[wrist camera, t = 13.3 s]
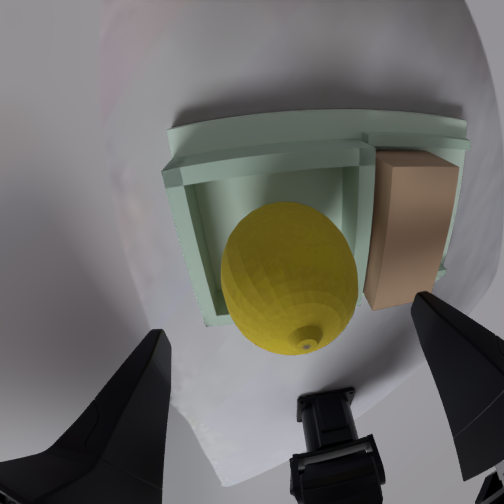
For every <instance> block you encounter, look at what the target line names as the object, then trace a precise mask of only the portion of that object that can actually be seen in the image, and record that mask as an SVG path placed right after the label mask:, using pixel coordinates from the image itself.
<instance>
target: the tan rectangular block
mask: <svg viewBox="0 0 504 504" xmlns="http://www.w3.org/2000/svg"><path fill="white" fill-rule="evenodd" d="M458 175H459V167H458V166H456V165H454V164H452V163H451V162H449V161H447V160H445V159H443V158H441V157H439V156H437V155H434V154H432V153H430V152H428V151H426V150H376V158H375V185H374V202H373V215H372V226H371V236H370V245H369V253H368V261H367V268H366V275H365V282H364V288H363V293H364V295H365V297H366V299H367V301H368V303H369V305H370V307H371V309H372V311H374V310H379V309H384V308H388V307H393V306H397V305H402V304H406V303H410V302H413V301H414V298H415V295H416V293H418V292H421V291H428V292H430V293H431V292H432V289H433V286H434V283H435V279H436V276H437V273H438V270H439V266H440V263H441V259H442V255H443V252H444V248H445V244H446V240H447V236H448V231H449V227H450V222H451V217H452V212H453V207H454V201H455V195H456V189H457V182H458Z"/></svg>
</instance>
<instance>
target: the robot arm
mask: <svg viewBox="0 0 504 504" xmlns="http://www.w3.org/2000/svg"><path fill="white" fill-rule="evenodd" d="M411 315H412V318H413V321H414V325H415V328H416V331H417V334H418V337H419V340H420V344H421V347H422V350H423V352H424V355H425V357H426V360H427V362H428V365H429V367H430V370H431V372H432V375H433V378H434V380H435V383H436V386H437V388H438V391H439V394H440V397H441V400H442V403H443V406H444V409H445V412H446V415H447V419H448V422H449V425H450V429H451V432H452V436H453V438H454V439H453V440H454V444H455V447H456V451H457V455H458V459H459V464H460V468H461V472H462V477H463V481H466V480H469V479H471V478H473V477H475V476H476V475H479V474H481V473H482V472H484V471H486V470H488V469H490V468H492V467H493V466H495V467H496V470H495V471H494V472H492V473H491V474H490V475H488V476H487V477H486V478H485V480H484V483H483V485H482V488H481V490H480V492H479V494H478V497H477V499H476V501H475V504H504V340H502V339H501V338H500V337H498V336H495V334H494V333H492V332H491V331H489V330H488V329H486V328H485V327H483V326H482V325H480V324H478V323H477V322H475V321H474V320H473V319H471V318H469V317H468V316H466V315H465V314H463V313H462V312H460V311H459V310H457V309H455V308H454V307H452V306H451V305H449V304H447V303H446V302H444V301H443V300H441V299H439V298H438V297H436V296H434V295H433V294H431V293H430V292H428V291H421V292H418V293H416V295H415V298H414V301H413V304H412V307H411ZM170 393H171V344H170V342H169V340H168V338H167V336H166V334H165V332H164V330H163V329H152V330H151V331H150V332H149V333H148V334H147V335H146V336H145V338H144V339H143V340H142V341H141V343H140V344H139V345H138V346H137V347H136V348H135V349H134V351H133V352H132V353H131V354H130V356H129V357H128V358H127V359H126V360H125V362H124V363H123V364H122V365H121V366H120V368H119V369H118V370H117V371H116V373H115V374H114V375H113V376H112V378H111V379H110V380H109V381H108V382H107V384H106V385H105V386H104V387H103V389H102V390H101V391H100V392H99V393H98V395H97V396H96V397H95V400H93V401H92V402H91V403H90V405H89V406H88V407H87V409H86V410H85V411H84V412H83V413H82V414H81V415H80V417H79V418H78V419H77V420H76V421H75V422H74V423H73V424H72V425H71V426H70V427H69V428H68V429H67V430H66V432H65V433H64V434H63V435H62V436H61V437H60V438H59V439H58V440H57V441H56V442H55V443H54V444H53V445H52V446H51V447H50V448H48V449H47V450H45V451H43V452H41V453H38V454H35V455H31V456H27V457H23V458H18V459H14V460H9V461H4V462H0V504H162V485H163V469H164V454H165V441H166V430H167V419H168V411H169V401H170ZM354 394H355V388H349V389H344V390H339V391H335V392H330V393H325V394H319V395H314V396H308V397H302V398H299V399H297V422H302V423H303V429H304V435H305V441H306V447H307V452H306V453H301V454H293V458H290V459H289V460H290V468H291V480H290V494H291V495H293V496H295V498H296V500H297V502H298V504H382V501H383V496H382V491H381V486H380V485H383V484H385V472H384V468H383V464H382V461H381V458H380V455H379V452H378V449H377V446H376V443H375V441H374V438H373V435H372V434H370V435H367V436H366V437H363V438H360V439H358V435H357V431H356V427H355V423H354V420H353V416H352V412H351V409H350V405H351V402H352V400H353V397H354ZM365 450H367V453H366V451H365Z"/></svg>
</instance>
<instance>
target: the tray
mask: <svg viewBox="0 0 504 504" xmlns="http://www.w3.org/2000/svg"><path fill="white" fill-rule="evenodd" d="M466 128H467V121H465V120H462V119H458V118H454V117H447V116H440V115H433V114H424V113H415V112H404V111H390V110H369V109H317V110H296V111H281V112H270V113H259V114H250V115H242V116H235V117H227V118H221V119H214V120H208V121H203V122H197V123H192V124H186V125H181V126H177V127H172V128H170V129H168V130H167V134H168V139H169V144H170V149H171V154H172V160H171V161H170V162H169V163H168V164H167V165H166V166H165V168H164V169H163V170H162V176H163V180H164V184H165V188H166V192H167V196H168V200H169V204H170V208H171V212H172V216H173V220H174V224H175V227H176V231H177V235H178V238H179V242H180V245H181V249H182V252H183V256H184V259H185V263H186V266H187V270H188V273H189V276H190V279H191V283H192V286H193V289H194V292H195V296H196V299H197V302H198V305H199V308H200V311H201V314H202V317H203V320H204V323H205V326H206V327H208V326H219V325H229V324H235V323H234V321H233V320H232V318H231V316H230V314H229V311H228V308H227V305H226V302H225V298H224V295H223V291H222V286H221V261H222V255H223V252H224V249H225V246H226V243H227V240H228V238H229V236H230V234H231V233H232V231H233V230H234V228H235V227H236V226H237V224H238V223H239V222H240V221H241V220H242V219H243V218H244V217H245V216H247V215H248V214H249V213H250V212H252V211H253V210H255V209H257V208H259V207H261V206H263V205H266V204H271V203H275V202H296V203H300V204H304V205H307V206H310V207H312V208H314V209H316V210H317V211H319V212H321V213H322V214H324V215H325V216H327V217H328V218H329V219H330V220H331V221H332V222H333V223H334V224H335V225H336V227H337V228H338V229H339V230H340V231H341V232H342V234H343V235H344V237H345V239H346V240H347V242H348V245H349V247H350V249H351V252H352V254H353V257H354V259H355V263H356V267H357V274H358V290H359V291H358V299H357V303H356V306H361V300H362V296H365V295H364V293H363V288H364V282H365V275H366V268H367V261H368V253H369V245H370V236H371V226H372V215H373V202H374V185H375V158H376V150H426V151H428V152H430V153H432V154H434V155H437V156H439V157H441V158H443V159H445V160H447V161H449V162H451V163H452V164H454V165H456V166H458V167H459V175H458V182H457V189H456V195H455V201H454V207H453V212H452V217H451V222H450V227H449V231H448V236H447V240H446V244H445V248H444V252H443V255H442V259H441V263H440V266H439V270H438V273H437V276H436V279H435V281H438V280H439V277H443V276H445V273H446V270H447V269H446V268H445V267H444V266H443V264H444V261H445V257H446V253H447V250H448V246H449V242H450V238H451V234H452V230H453V225H454V220H455V216H456V211H457V205H458V200H459V194H460V188H461V181H462V174H463V166H464V156H465V150H470V149H471V141H470V140H468V139H466Z"/></svg>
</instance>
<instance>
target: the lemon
mask: <svg viewBox="0 0 504 504" xmlns="http://www.w3.org/2000/svg"><path fill="white" fill-rule="evenodd" d="M221 286H222V291H223V295H224V298H225V302H226V305H227V308H228V311H229V314H230V316H231V318H232V320H233V321H234V323H235V324H236V326H237V327H238V328H239V330H240V331H241V333H242V334H243V335H244V336H245V337H246V338H247V339H249V340H250V341H251V342H253V343H254V344H255V345H257V346H259V347H260V348H263V349H265V350H267V351H270V352H273V353H277V354H282V355H300V354H307V353H310V352H313V351H316V350H318V349H320V348H322V347H324V346H326V345H327V344H329V343H330V342H332V341H333V340H334V339H335V338H336V337H337V336H338V335H339V334H340V333H341V332H342V331H343V330H344V329H345V327H346V326H347V324H348V322H349V321H350V319H351V317H352V316H353V313H354V310H355V307H356V303H357V299H358V291H359V290H358V274H357V267H356V263H355V259H354V257H353V254H352V252H351V249H350V247H349V245H348V242H347V240H346V239H345V237H344V235H343V234H342V232H341V231H340V230H339V229H338V228H337V227H336V225H335V224H334V223H333V222H332V221H331V220H330V219H329V218H328V217H327V216H325V215H324V214H322V213H321V212H319V211H317V210H316V209H314V208H312V207H310V206H307V205H304V204H300V203H296V202H275V203H271V204H266V205H263V206H261V207H259V208H257V209H255V210H253V211H252V212H250V213H249V214H248V215H247V216H245V217H244V218H243V219H242V220H241V221H240V222H239V223H238V224H237V226H236V227H235V228H234V230H233V231H232V233H231V234H230V236H229V238H228V240H227V243H226V246H225V249H224V252H223V255H222V261H221Z"/></svg>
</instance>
